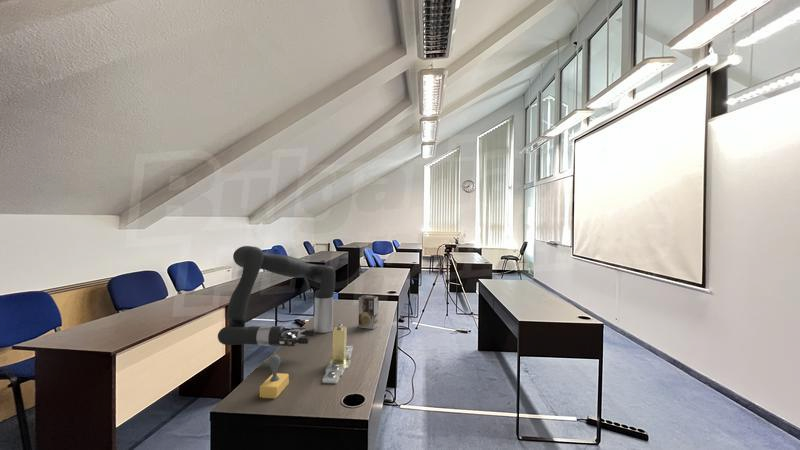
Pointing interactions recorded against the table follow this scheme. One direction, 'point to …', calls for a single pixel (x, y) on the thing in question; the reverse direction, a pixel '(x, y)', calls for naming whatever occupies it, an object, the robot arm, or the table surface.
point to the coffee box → (368, 311)
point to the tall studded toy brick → (339, 344)
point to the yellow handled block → (274, 380)
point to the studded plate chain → (337, 368)
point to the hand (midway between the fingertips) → (311, 336)
